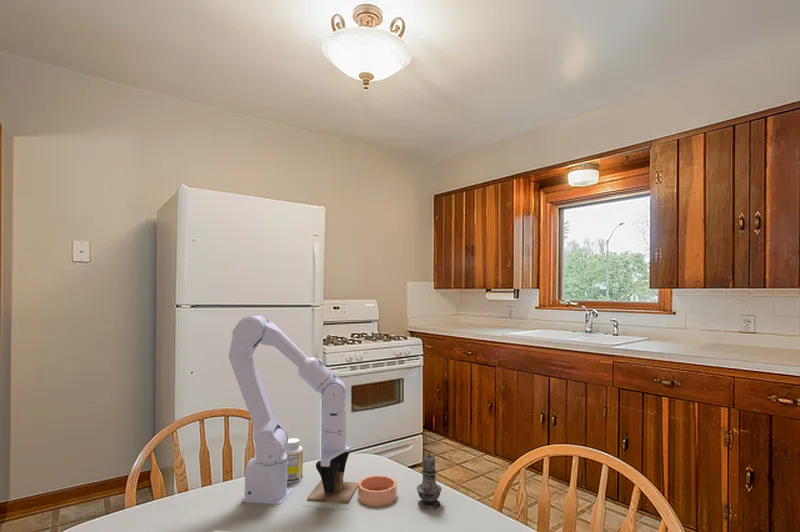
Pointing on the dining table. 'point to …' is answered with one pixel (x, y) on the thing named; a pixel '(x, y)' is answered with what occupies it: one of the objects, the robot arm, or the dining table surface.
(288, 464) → the supplement bottle
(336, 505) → the sage rubber mat
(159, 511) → the dining table surface
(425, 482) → the salt shaker
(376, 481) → the terracotta bowl
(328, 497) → the walnut lid
